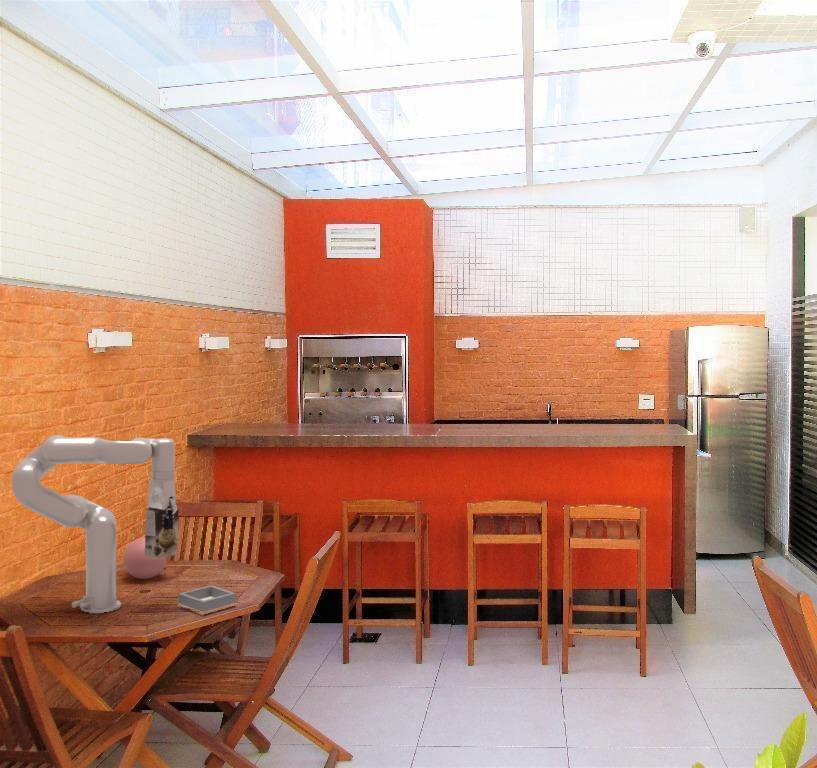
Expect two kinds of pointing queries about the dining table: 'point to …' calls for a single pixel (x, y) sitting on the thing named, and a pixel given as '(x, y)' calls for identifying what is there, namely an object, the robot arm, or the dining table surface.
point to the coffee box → (160, 535)
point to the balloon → (141, 561)
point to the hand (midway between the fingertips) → (161, 527)
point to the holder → (206, 598)
